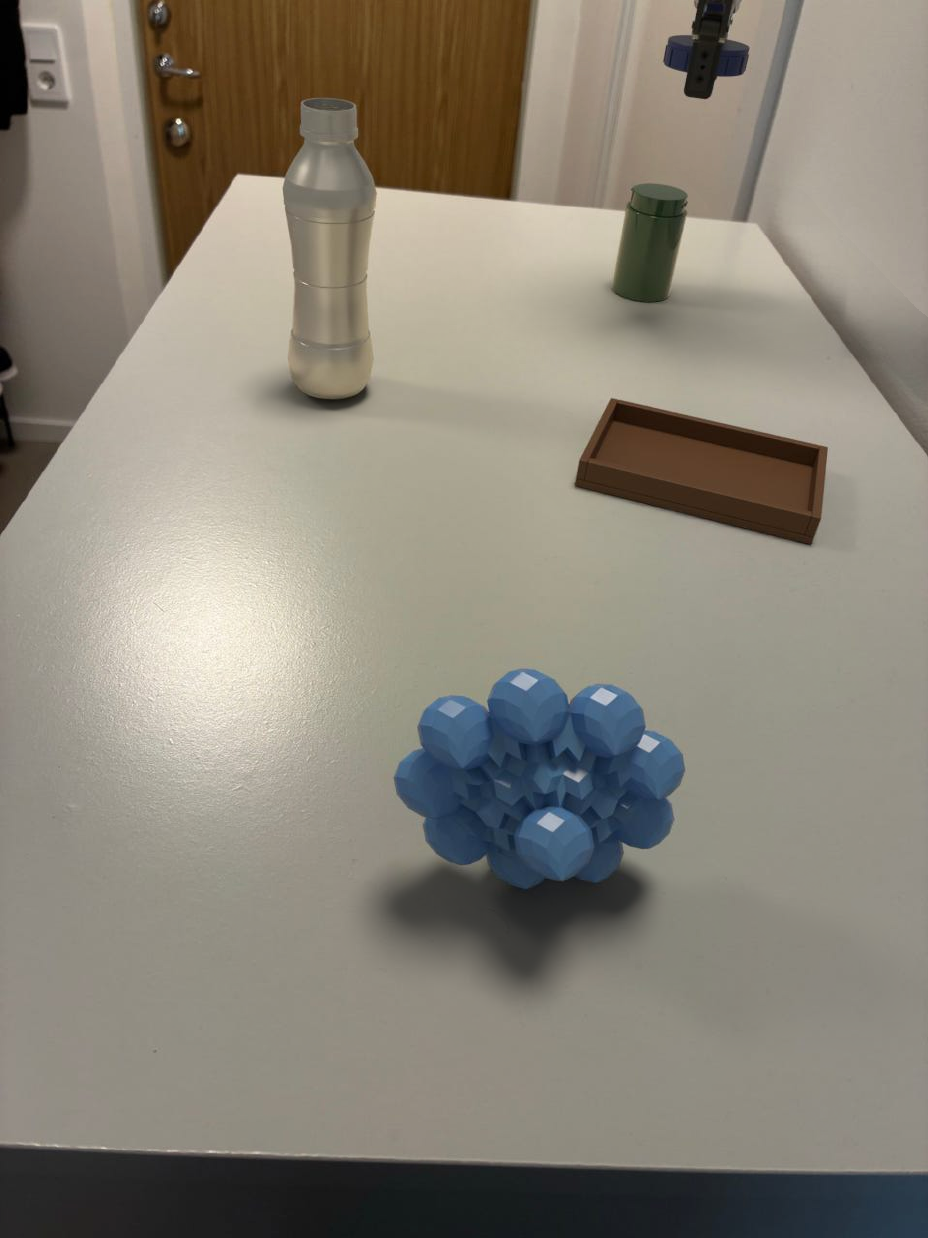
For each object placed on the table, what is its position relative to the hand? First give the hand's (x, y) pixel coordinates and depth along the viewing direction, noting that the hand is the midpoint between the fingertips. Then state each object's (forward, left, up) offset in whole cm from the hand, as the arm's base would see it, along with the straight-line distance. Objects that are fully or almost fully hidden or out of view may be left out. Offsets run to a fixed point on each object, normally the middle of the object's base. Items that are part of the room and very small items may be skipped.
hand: (700, 88), depth 78 cm
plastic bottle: (+20, +27, -20) cm, 39 cm away
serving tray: (-9, +27, -19) cm, 35 cm away
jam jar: (+2, -7, -19) cm, 21 cm away
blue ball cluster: (-7, +65, -20) cm, 69 cm away
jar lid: (0, 0, +3) cm, 3 cm away
